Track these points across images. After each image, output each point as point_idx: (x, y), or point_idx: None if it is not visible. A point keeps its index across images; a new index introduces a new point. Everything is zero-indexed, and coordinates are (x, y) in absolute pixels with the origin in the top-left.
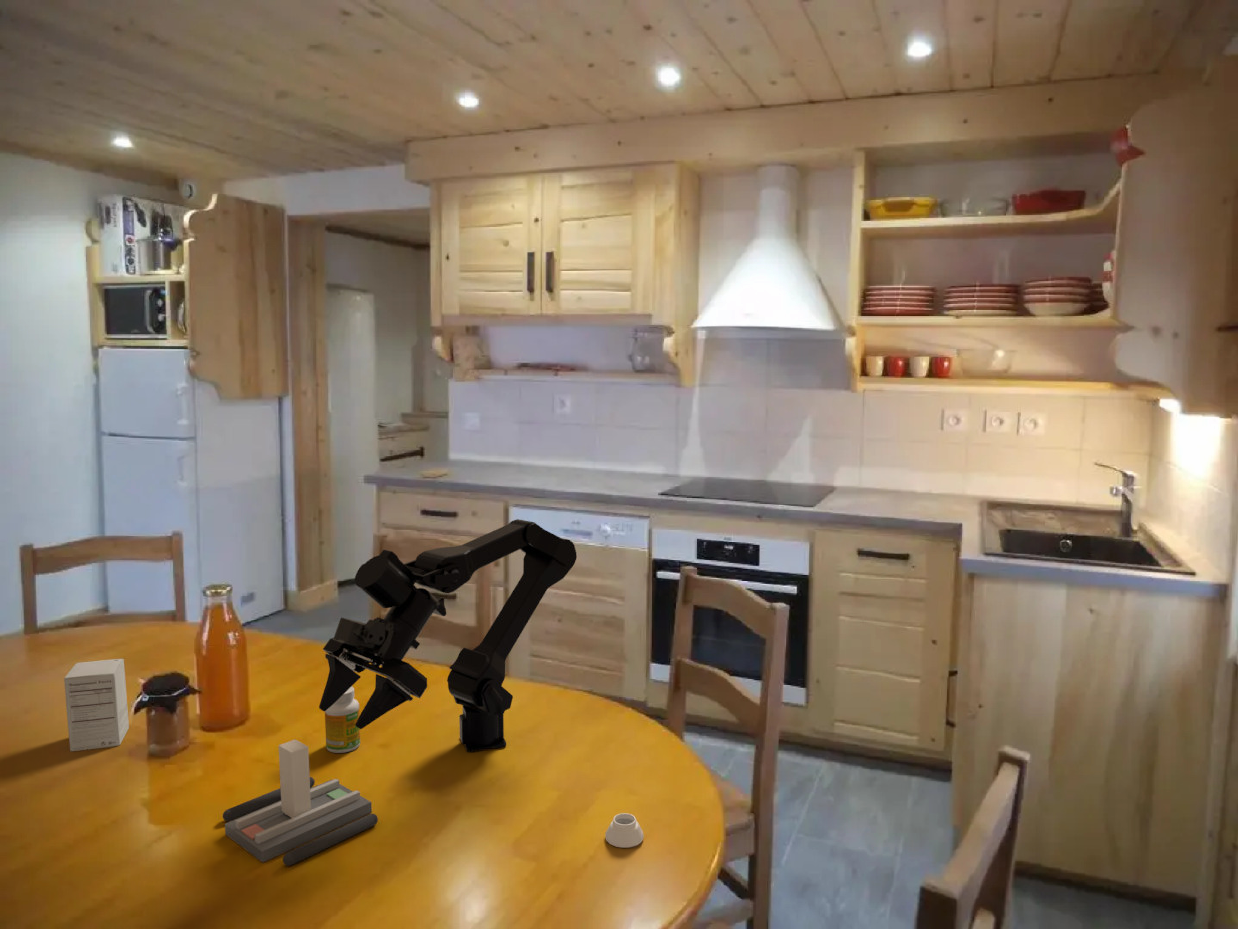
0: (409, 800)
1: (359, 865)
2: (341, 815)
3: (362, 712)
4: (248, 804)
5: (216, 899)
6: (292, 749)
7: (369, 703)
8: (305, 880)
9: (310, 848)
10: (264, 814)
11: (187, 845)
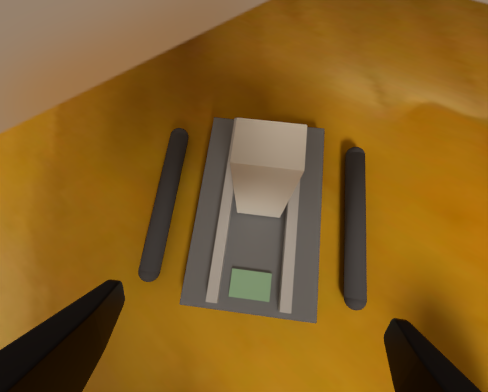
0: (152, 380)
1: (96, 188)
2: (191, 240)
3: (71, 319)
4: (352, 178)
5: (200, 64)
6: (252, 129)
7: (3, 367)
8: (137, 132)
9: (165, 158)
10: None
11: (334, 100)
